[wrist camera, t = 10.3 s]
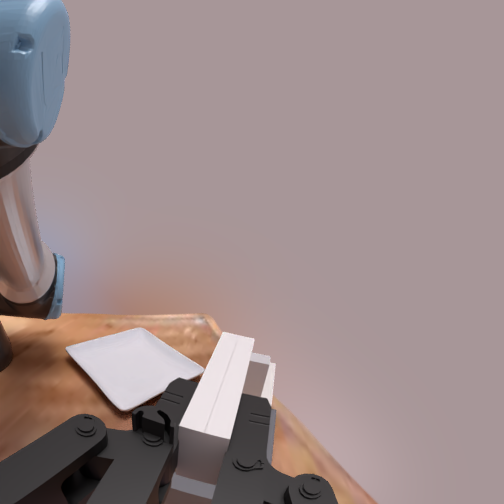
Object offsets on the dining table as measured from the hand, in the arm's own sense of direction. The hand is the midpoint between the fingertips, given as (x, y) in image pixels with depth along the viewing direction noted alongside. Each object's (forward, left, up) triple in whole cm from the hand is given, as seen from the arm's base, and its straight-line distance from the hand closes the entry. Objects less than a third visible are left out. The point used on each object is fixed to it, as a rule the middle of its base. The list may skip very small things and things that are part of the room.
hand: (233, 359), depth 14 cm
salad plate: (-40, -5, -31) cm, 51 cm away
